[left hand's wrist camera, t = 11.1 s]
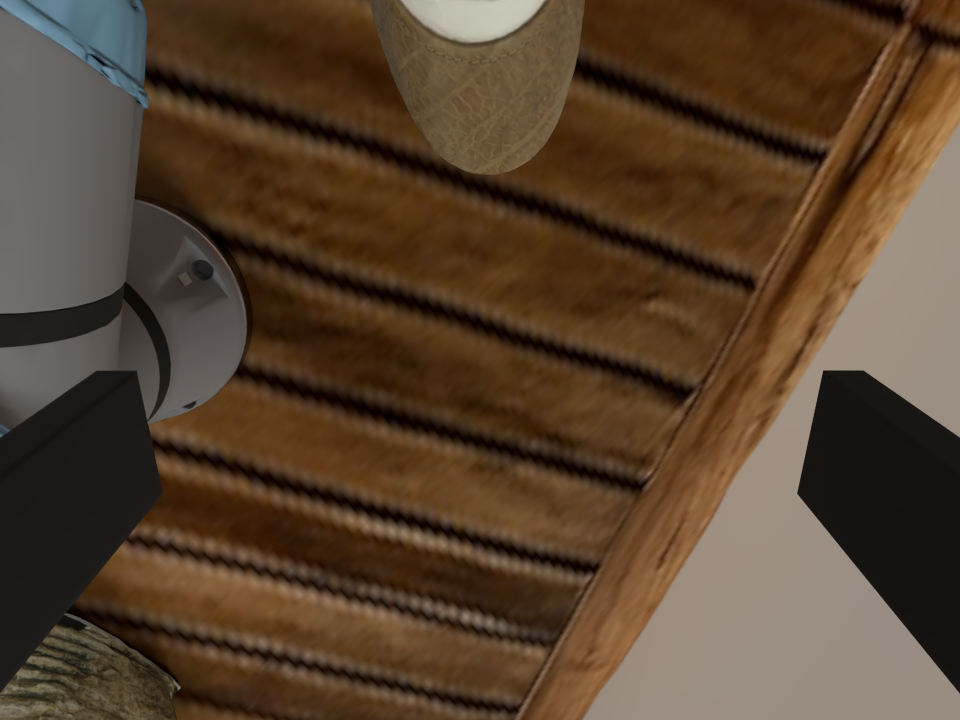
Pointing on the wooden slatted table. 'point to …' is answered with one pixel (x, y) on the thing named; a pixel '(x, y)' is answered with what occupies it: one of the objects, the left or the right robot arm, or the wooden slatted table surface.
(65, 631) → the fossil
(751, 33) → the wooden slatted table surface
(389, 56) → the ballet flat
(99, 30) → the left robot arm
